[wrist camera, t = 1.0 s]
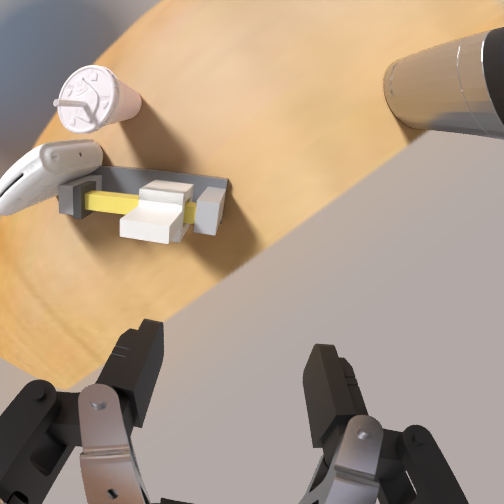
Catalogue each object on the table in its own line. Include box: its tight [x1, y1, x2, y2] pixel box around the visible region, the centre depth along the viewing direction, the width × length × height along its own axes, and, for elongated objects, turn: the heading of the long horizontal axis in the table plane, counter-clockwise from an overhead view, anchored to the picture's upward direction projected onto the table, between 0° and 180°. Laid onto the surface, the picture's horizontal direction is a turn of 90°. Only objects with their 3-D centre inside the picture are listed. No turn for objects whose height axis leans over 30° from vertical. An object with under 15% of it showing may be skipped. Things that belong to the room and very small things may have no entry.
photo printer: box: [0, 139, 103, 216], centre depth 24 cm, size 10×4×12 cm, turn 111°
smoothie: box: [54, 65, 142, 134], centre depth 21 cm, size 6×6×14 cm
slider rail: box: [58, 165, 228, 235], centre depth 28 cm, size 17×5×8 cm, turn 81°
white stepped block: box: [120, 180, 194, 244], centre depth 24 cm, size 4×4×8 cm
